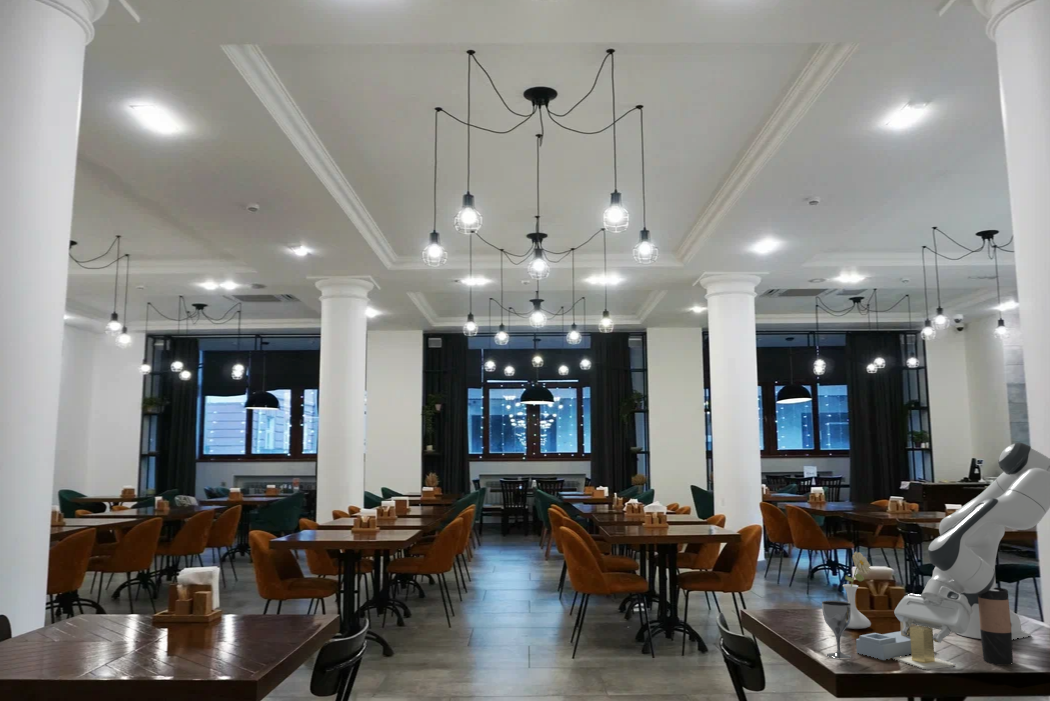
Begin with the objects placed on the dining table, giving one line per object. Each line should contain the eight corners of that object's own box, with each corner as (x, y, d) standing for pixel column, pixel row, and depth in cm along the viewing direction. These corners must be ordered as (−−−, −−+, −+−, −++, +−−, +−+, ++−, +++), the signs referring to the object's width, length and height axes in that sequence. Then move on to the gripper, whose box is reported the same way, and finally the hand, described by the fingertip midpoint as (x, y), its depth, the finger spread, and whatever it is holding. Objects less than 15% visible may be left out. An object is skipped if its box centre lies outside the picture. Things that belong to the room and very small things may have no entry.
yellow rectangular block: (921, 658, 222) (919, 625, 223) (934, 661, 218) (932, 628, 219) (911, 660, 220) (909, 627, 221) (925, 663, 216) (922, 629, 217)
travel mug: (1001, 666, 215) (996, 592, 218) (976, 660, 222) (971, 587, 225) (1020, 663, 218) (1014, 590, 221) (994, 657, 225) (989, 585, 228)
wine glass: (820, 652, 230) (817, 600, 232) (847, 652, 230) (844, 600, 232) (830, 659, 222) (827, 605, 224) (858, 660, 222) (855, 605, 224)
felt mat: (924, 656, 226) (924, 654, 226) (955, 666, 215) (955, 664, 215) (893, 659, 223) (893, 657, 223) (923, 669, 212) (922, 667, 212)
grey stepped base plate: (903, 644, 240) (902, 613, 242) (931, 650, 233) (929, 619, 234) (856, 653, 230) (855, 621, 231) (883, 660, 222) (881, 627, 223)
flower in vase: (848, 632, 256) (844, 554, 259) (827, 624, 267) (823, 550, 270) (883, 630, 259) (878, 553, 263) (860, 622, 270) (856, 549, 274)
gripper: (901, 585, 234) (882, 623, 228) (968, 596, 216) (949, 637, 210) (911, 599, 235) (892, 637, 229) (978, 611, 218) (960, 652, 212)
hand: (920, 637), depth 219 cm, fingers open, 8 cm apart
